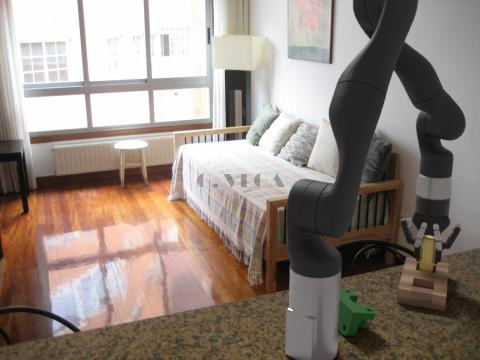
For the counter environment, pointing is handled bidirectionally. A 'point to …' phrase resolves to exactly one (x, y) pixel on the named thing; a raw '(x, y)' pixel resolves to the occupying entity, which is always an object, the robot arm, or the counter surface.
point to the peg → (427, 254)
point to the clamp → (352, 313)
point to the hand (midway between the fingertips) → (426, 261)
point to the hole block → (423, 285)
